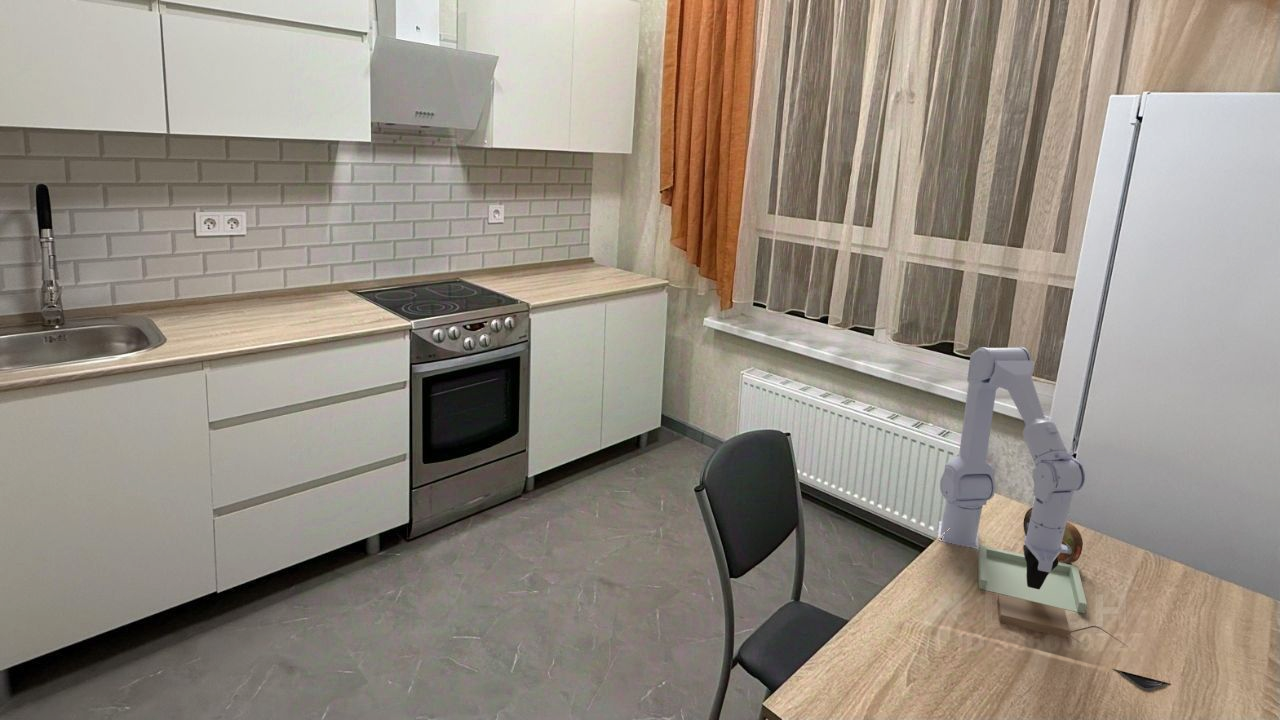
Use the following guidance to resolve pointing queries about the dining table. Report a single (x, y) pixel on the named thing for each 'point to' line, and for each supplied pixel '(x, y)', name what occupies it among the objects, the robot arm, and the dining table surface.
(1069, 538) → the tin
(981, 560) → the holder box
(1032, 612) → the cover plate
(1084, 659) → the dining table surface
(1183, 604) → the dining table surface
